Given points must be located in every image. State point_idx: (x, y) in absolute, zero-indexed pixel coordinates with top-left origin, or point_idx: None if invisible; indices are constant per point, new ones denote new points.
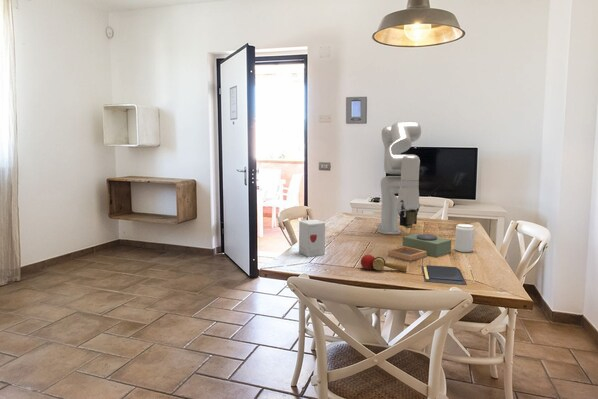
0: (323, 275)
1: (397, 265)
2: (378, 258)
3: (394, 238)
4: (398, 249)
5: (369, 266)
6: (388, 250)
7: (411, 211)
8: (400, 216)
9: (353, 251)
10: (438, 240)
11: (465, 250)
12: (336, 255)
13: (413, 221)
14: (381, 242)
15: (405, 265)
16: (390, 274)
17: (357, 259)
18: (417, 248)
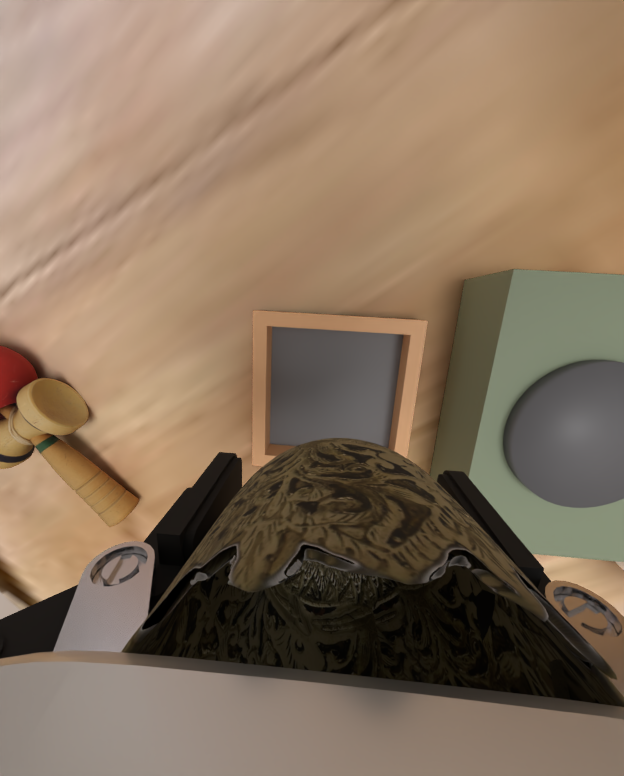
0: None
1: (81, 496)
2: (21, 416)
3: None
4: (344, 330)
5: None
6: (256, 313)
7: (555, 673)
8: (124, 566)
9: (179, 63)
10: (561, 515)
11: (617, 563)
12: (19, 53)
13: (312, 618)
14: (563, 17)
15: (105, 522)
16: (55, 479)
17: (77, 227)
18: (455, 395)
